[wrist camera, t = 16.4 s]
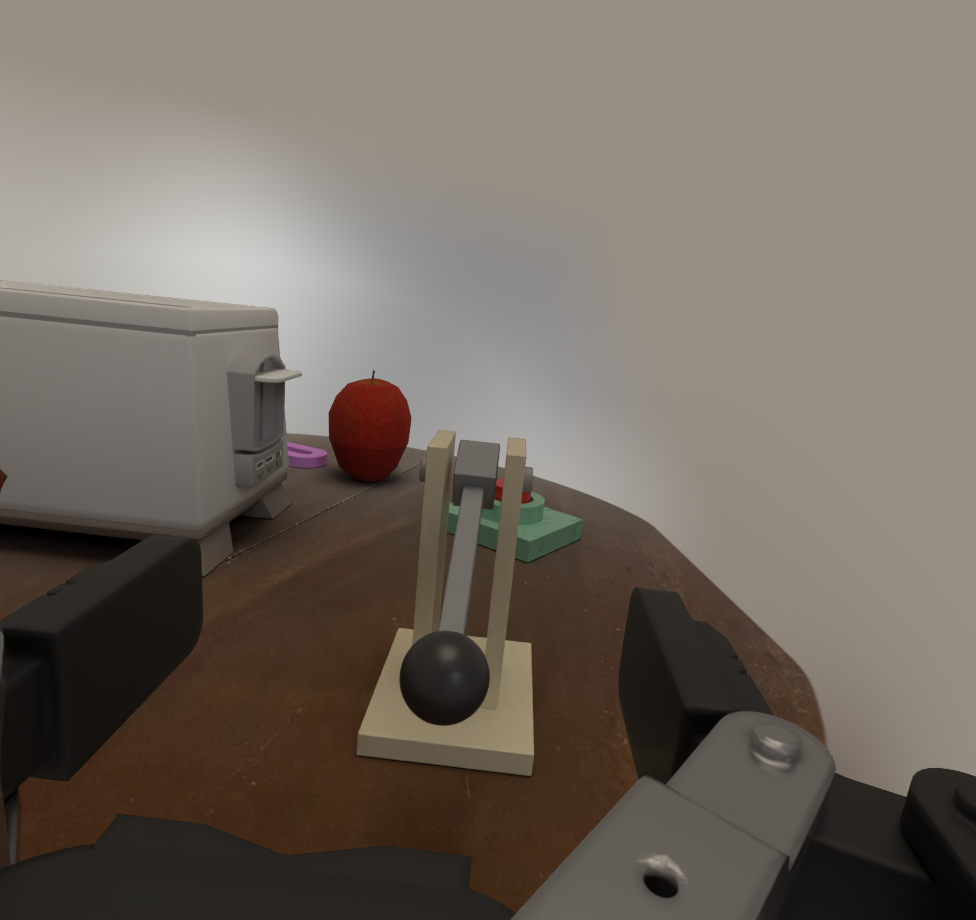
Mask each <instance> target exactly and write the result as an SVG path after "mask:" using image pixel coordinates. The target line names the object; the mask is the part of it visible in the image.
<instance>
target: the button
mask: <svg viewBox="0 0 976 920" xmlns="http://www.w3.org/2000/svg"><path fill="white" fill-rule="evenodd" d="M503 482H504V479H498V480H497V481H496V489H495V498H494V500H497V501H500V502H501V501H502V491H503ZM531 491H532V486H531ZM530 500H531V492H530V493H522V498H521V504H526V503H529V502H530Z"/></svg>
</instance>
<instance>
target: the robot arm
mask: <svg viewBox="0 0 976 920" xmlns="http://www.w3.org/2000/svg"><path fill="white" fill-rule="evenodd" d="M202 622H203V600H202V555H201V548H200V545H199V543H198V542H197V541H196V540H195V539H188V538H178V537H169V536H160V535H151V536H149V537H148V538H146V539H144V540H143V541H141V542H140V543H138V544H136V545H135V546H133V547H131V548H130V549H128V550H127V551H125V552H123V553H122V554H120V555H119V556H117V557H115V558H114V559H112V560H109V561H106V562H103V563H100V564H97V565H94V566H91V567H88V568H87V569H85V570H83V571H82V572H80V573H78V574H77V575H75V576H73V577H72V578H70V579H68V580H67V581H66V583H65V584H60V585H59V586H57V587H55V588H54V589H52V590H50V591H49V592H47V595H46V596H45V595H42V596H40V597H39V598H37V599H35V600H34V601H32V602H30V603H29V604H27V605H25V606H24V607H22V608H21V609H19V610H17V611H16V612H14V613H12V614H11V615H9V616H7V617H6V618H4V619H2V620H1V621H0V920H976V777H975V776H973V775H970V774H966V773H963V772H959V771H955V770H950V769H942V768H928V769H923V770H921V771H919V772H917V773H916V774H915V775H914V776H913V778H912V781H911V784H910V788H909V791H908V794H907V797H905V796H901V795H898V794H895V793H892V792H889V791H886V790H883V789H879V788H876V787H873V786H870V785H867V784H864V783H861V782H857V781H855V780H852V779H849V778H846V777H844V776H842V775H839V774H837V773H835V770H836V769H835V762H834V760H833V757H832V755H831V754H830V752H829V751H828V749H827V748H826V747H825V746H824V745H823V744H822V743H821V742H820V741H819V740H818V739H817V738H816V737H814V736H813V735H811V734H810V733H809V732H807V731H806V730H804V729H802V728H801V727H799V726H797V725H795V724H793V723H791V722H789V721H787V720H784V719H782V718H779V717H776V716H774V715H773V713H772V712H771V710H770V708H769V707H768V705H767V703H766V702H765V700H764V698H763V697H762V695H761V694H760V692H759V690H758V689H757V687H756V685H755V684H754V682H753V680H752V679H751V677H750V675H747V670H746V669H745V667H744V666H743V664H742V662H741V661H740V660H738V656H737V654H736V652H735V651H734V649H733V647H732V646H731V644H730V643H729V641H728V639H727V638H726V637H724V636H723V635H722V634H721V633H719V632H718V631H717V630H715V629H714V628H713V627H712V626H710V625H709V624H708V623H706V622H700V621H693V620H692V618H691V617H690V615H689V613H688V611H687V609H686V607H685V605H684V603H683V602H682V600H681V598H680V596H679V594H678V593H677V592H672V591H663V590H654V589H645V588H634V590H633V592H632V595H631V599H630V604H629V610H628V617H627V623H626V629H625V635H624V642H623V648H622V654H621V660H620V667H619V699H620V704H621V709H622V713H623V717H624V721H625V725H626V729H627V733H628V737H629V742H630V746H631V750H632V754H633V758H634V762H635V766H636V770H637V775H638V779H639V780H638V781H637V782H636V783H635V784H634V785H633V786H632V787H631V788H630V790H629V791H628V792H627V793H626V794H625V795H624V796H623V797H622V798H621V799H620V801H619V802H618V803H617V804H616V805H615V806H614V807H613V808H612V809H611V810H610V811H609V813H608V814H607V815H606V816H605V817H604V818H603V819H602V820H601V821H600V822H599V823H598V825H597V826H596V827H595V828H594V829H593V830H592V831H591V832H590V833H589V834H588V835H587V837H586V838H585V839H584V840H583V841H582V842H581V843H580V844H579V845H578V846H577V847H576V849H575V850H574V851H573V852H572V853H571V854H570V855H569V856H568V857H567V858H566V859H565V861H564V862H563V863H562V864H561V865H560V866H559V867H558V868H557V869H556V870H555V871H554V873H553V874H552V875H551V876H550V877H549V878H548V879H547V880H546V881H545V882H544V884H543V885H542V886H541V887H540V888H539V889H538V890H537V891H536V892H535V893H534V894H533V896H532V897H531V898H530V899H529V900H528V901H527V902H526V903H525V904H524V905H523V906H522V908H521V909H520V910H519V911H518V912H517V913H516V912H514V911H513V910H511V909H510V908H508V907H507V906H505V905H503V904H502V903H500V902H498V901H496V900H494V899H492V898H490V897H488V896H486V895H484V894H482V893H480V892H477V891H475V890H472V889H470V888H469V881H470V870H471V859H472V857H471V856H462V855H454V854H446V853H438V852H429V851H421V850H413V849H405V848H396V847H388V846H379V847H368V848H358V849H348V850H338V851H327V852H317V853H307V854H297V855H287V854H281V853H277V852H274V851H272V850H269V849H267V848H264V847H262V846H259V845H256V844H254V843H251V842H249V841H246V840H244V839H241V838H239V837H236V836H233V835H231V834H228V833H226V832H223V831H221V830H218V829H216V828H213V827H210V826H208V825H205V824H199V823H191V822H183V821H174V820H166V819H158V818H150V817H141V816H133V815H125V814H118V816H117V817H116V818H115V819H114V821H113V822H112V823H111V824H110V826H109V827H108V828H107V829H106V831H105V832H104V833H103V834H102V836H101V837H100V838H99V839H98V841H97V842H96V843H95V844H90V845H83V846H77V847H72V848H67V849H61V850H58V851H54V852H50V853H46V854H43V855H39V856H36V857H33V858H30V859H27V860H24V861H21V862H19V859H20V830H21V798H20V789H19V786H20V785H21V784H22V783H23V782H24V781H25V780H26V779H27V778H28V777H34V778H42V779H50V780H59V781H67V782H68V781H69V780H70V779H71V777H72V776H73V775H74V774H75V773H76V772H77V771H78V770H79V769H80V768H81V767H82V766H83V765H84V764H85V763H86V762H87V761H88V760H89V759H90V758H91V757H92V755H93V754H94V753H95V752H96V751H97V750H98V749H99V748H100V747H101V746H102V745H103V744H104V743H105V742H106V741H107V740H108V739H109V738H110V737H111V736H112V735H113V733H114V732H115V731H116V730H117V729H118V728H119V727H120V726H121V725H122V724H123V723H124V722H125V721H126V720H127V719H128V718H129V717H130V716H131V715H132V714H133V713H134V711H135V710H136V709H137V708H138V707H139V706H140V705H141V704H142V703H143V702H144V701H145V700H146V699H147V698H148V697H149V696H150V695H151V694H152V693H153V692H154V691H155V689H156V688H157V687H158V686H159V685H160V684H161V683H162V682H163V681H164V680H165V679H166V678H167V677H168V676H169V675H170V674H171V673H172V672H173V671H174V670H175V669H176V667H177V666H178V665H179V664H180V663H181V662H182V661H183V660H184V659H185V658H186V657H187V656H188V655H189V654H190V653H191V652H192V650H193V649H194V647H195V645H196V643H197V641H198V639H199V636H200V632H201V628H202Z"/></svg>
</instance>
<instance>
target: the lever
mask: <svg viewBox="0 0 976 920" xmlns="http://www.w3.org/2000/svg"><path fill="white" fill-rule="evenodd" d="M499 451H500V444H497V443H487V442H478V441H469V440H460V444H459V449H458V454H457V459H456V464H455V469H454V476H453V506H460V509H459V514H458V520H457V526H456V531H455V537H454V543H453V548H452V554H451V560H450V566H449V571H448V577H447V583H446V588H445V594H444V600H443V605H442V611H441V617H440V623H439V628H438V631H437V632H433V633H430V634H427V635H425V636H424V637H422V638H421V639H419V640H418V641H417V642H415V643H414V644H413V645H412V647H411V648H410V649H409V650H408V652H407V654H406V655H405V657H404V659H403V662H402V665H401V669H400V677H399V683H400V689H401V693H402V697H403V699H404V701H405V703H406V705H407V706H408V708H409V709H410V710H411V711H412V712H413V713H414V714H415V715H416V716H417V717H418V718H420V719H421V720H423V721H425V722H427V723H430V724H433V725H438V726H448V725H454V724H457V723H460V722H462V721H464V720H466V719H468V718H469V717H471V716H472V715H473V714H474V713H475V712H476V711H477V710H478V709H479V708H480V706H481V705H482V703H483V701H484V699H485V697H486V695H487V692H488V688H489V682H490V673H489V666H488V663H487V660H486V657H485V655H484V653H483V652H482V650H481V648H480V647H479V646H478V645H477V644H476V643H475V642H474V641H473V640H472V639H470V638H469V637H467V636H466V635H465V630H466V623H467V616H468V609H469V601H470V594H471V587H472V580H473V572H474V565H475V558H476V551H477V543H478V536H479V529H480V522H481V514H482V509H488V510H493V506H494V498H495V489H496V481H497V472H498V461H499Z"/></svg>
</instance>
